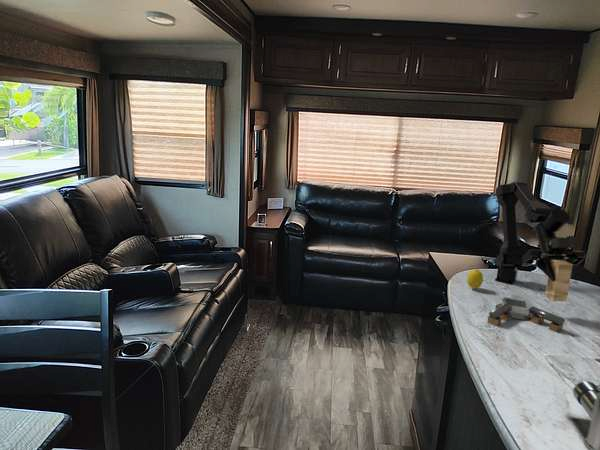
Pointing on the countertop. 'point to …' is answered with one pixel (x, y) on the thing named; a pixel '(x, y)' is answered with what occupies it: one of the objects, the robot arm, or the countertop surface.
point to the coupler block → (559, 280)
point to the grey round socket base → (517, 308)
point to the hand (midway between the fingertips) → (561, 280)
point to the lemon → (475, 278)
